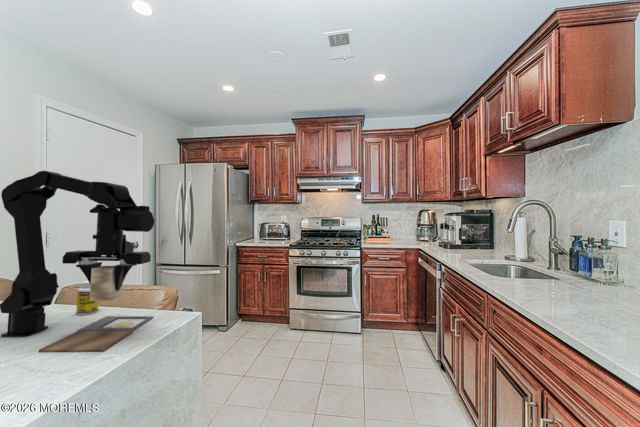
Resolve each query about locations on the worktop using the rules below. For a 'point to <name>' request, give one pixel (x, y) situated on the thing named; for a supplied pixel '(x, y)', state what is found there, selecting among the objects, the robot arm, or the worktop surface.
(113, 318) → the mat
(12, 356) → the worktop surface
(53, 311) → the worktop surface
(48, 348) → the board
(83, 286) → the supplement bottle
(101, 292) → the beige wooden block
